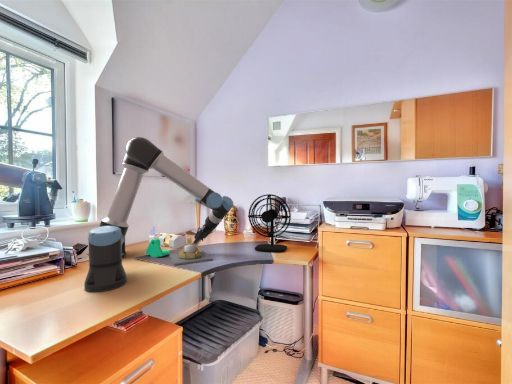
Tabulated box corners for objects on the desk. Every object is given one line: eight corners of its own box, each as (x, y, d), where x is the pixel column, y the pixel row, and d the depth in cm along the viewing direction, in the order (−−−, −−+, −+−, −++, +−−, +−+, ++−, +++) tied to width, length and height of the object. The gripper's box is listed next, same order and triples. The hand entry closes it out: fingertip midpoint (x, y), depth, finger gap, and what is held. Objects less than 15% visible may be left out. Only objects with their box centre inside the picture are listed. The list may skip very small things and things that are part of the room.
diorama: (148, 245, 177) (148, 226, 177) (161, 242, 186) (160, 224, 186) (174, 249, 165) (174, 229, 164) (186, 246, 173) (185, 227, 173)
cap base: (212, 260, 138) (212, 247, 138) (174, 265, 130) (174, 251, 129) (203, 251, 156) (202, 240, 156) (169, 256, 148) (168, 244, 147)
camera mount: (171, 255, 151) (170, 237, 150) (161, 258, 144) (161, 240, 143) (155, 253, 156) (155, 236, 155) (145, 256, 149) (145, 238, 148)
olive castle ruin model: (201, 257, 139) (201, 243, 139) (178, 259, 135) (178, 244, 135) (199, 250, 155) (199, 237, 155) (178, 252, 151) (178, 238, 151)
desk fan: (245, 251, 156) (244, 194, 155) (254, 245, 173) (253, 193, 172) (289, 254, 148) (288, 194, 147) (293, 247, 165) (293, 193, 164)
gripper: (209, 226, 135) (188, 253, 145) (225, 222, 146) (204, 248, 156) (202, 215, 138) (181, 243, 147) (218, 213, 149) (198, 238, 158)
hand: (193, 245), depth 151 cm, fingers closed
